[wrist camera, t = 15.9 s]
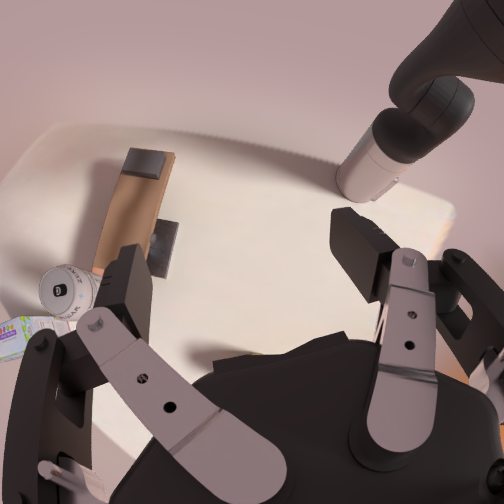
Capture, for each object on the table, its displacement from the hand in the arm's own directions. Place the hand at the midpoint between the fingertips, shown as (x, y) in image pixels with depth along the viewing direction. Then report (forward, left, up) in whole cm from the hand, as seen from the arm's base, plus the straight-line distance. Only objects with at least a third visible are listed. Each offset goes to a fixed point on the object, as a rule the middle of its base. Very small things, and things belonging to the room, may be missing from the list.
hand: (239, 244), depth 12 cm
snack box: (+37, +18, -39) cm, 57 cm away
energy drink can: (+17, +5, -30) cm, 35 cm away
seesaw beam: (+17, -6, -31) cm, 36 cm away
